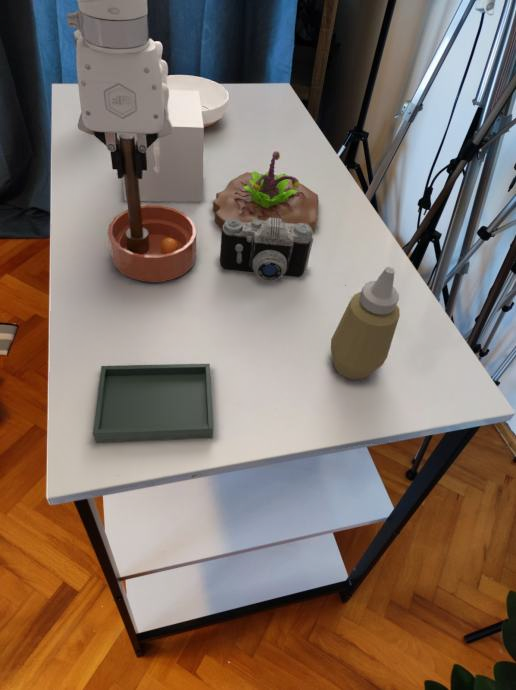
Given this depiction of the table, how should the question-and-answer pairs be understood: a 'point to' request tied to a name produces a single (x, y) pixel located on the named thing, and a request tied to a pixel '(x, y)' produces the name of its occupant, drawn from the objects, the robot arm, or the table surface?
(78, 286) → the table surface
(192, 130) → the white figure sculpture
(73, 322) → the table surface
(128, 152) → the brown wooden rod
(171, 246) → the ball
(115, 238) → the copper shallow cylinder
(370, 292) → the squeeze bottle
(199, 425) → the spoon tray
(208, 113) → the bowl
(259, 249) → the camera
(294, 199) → the plant
